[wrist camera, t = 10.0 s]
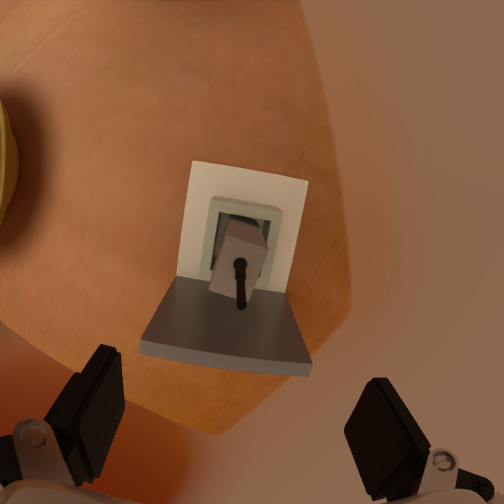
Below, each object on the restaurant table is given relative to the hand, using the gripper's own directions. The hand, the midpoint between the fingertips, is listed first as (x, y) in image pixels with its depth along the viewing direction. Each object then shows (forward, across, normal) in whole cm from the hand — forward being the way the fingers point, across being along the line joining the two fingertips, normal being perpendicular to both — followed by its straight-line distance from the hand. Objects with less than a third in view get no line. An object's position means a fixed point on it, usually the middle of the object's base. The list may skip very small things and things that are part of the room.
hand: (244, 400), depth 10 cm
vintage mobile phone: (+32, 0, 0) cm, 33 cm away
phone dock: (+34, 0, +1) cm, 34 cm away
